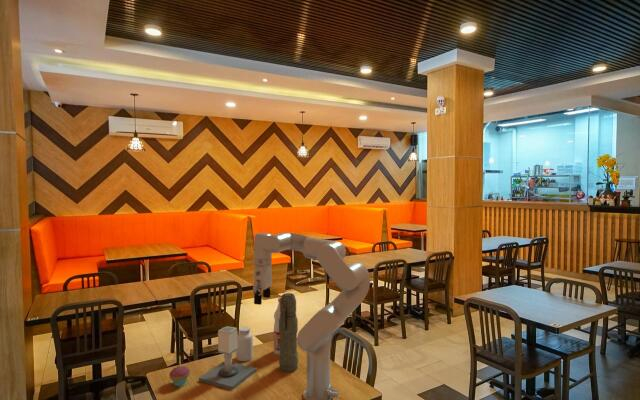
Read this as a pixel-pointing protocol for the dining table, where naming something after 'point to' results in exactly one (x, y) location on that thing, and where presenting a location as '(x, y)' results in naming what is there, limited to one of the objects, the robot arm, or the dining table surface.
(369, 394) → the dining table surface
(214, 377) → the post base
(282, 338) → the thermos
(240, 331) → the pill bottle
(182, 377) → the cupcake
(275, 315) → the fruit juice
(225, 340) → the white rectangular block
